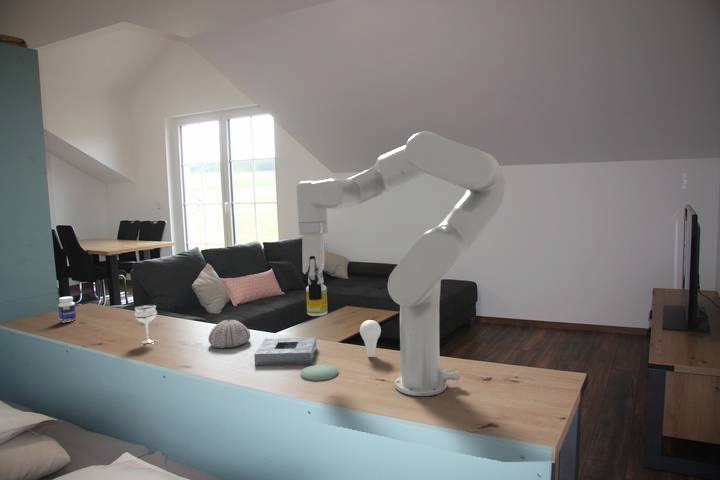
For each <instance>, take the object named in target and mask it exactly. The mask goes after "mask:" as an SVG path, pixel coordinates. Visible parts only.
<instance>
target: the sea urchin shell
mask: <svg viewBox="0 0 720 480" xmlns="http://www.w3.org/2000/svg"><path fill="white" fill-rule="evenodd" d="M250 339H251V332H250V329H249V328H248V327H247V326H245V324H243V322H241V321H239V320H237V319H224V320H222V321H220V322H218V323H217V324H216V325H215V326H214V327H213V328H211V331H210V332H209V335H208V339H207V340H208V343H209V345H211V347H214V348H218V349H220V348H221V349H225V348H228V349H229V348H232V347H233V348H234V347H235V348H236V347H238V346H242V345H245V343H248V342H249V341H250Z"/></svg>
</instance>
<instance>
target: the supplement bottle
mask: <svg viewBox="0 0 720 480" xmlns="http://www.w3.org/2000/svg"><path fill="white" fill-rule="evenodd" d="M307 282H308V283H309V277H308V278H307ZM323 283H324V276H323V277H320V284H321V293H322V299H321V300H310V299H309V287H308V285H307V286H306V287H305V292H306V293H305V295H306V314H307V315H308V316H312V317H317V316H319V317H320V316H324V315H327V314H328V295H327V294H328V293H327V292H328V291H327V289H328V288H327V286H326V285H325V284H324V285H323Z"/></svg>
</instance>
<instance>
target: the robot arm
mask: <svg viewBox="0 0 720 480" xmlns="http://www.w3.org/2000/svg"><path fill="white" fill-rule="evenodd" d="M426 176H431V177H434V178H436V179H439V180H441V181H445V182H447V183H449V184H452V185H454V186H457V187H460V188H462V189H466V190H465V194H464V195H463V196H462V198H460V200H459V201H457V203H456V204H455V206H453V208H452V209H451V211H450V212H449V213H448V214H447V216H446V217H445V218H444V219H443V220H442V222H441V223H439V224H438V225H437V226H436V227H433V228H431V229H428V230H427V231H424V233H423V234H422V235H421V236H420V237H419V238H418V239H417V240H416V241H415V243H414V244H413V245H412V246H411V248H410V249H409V250H408V251H407V252H406V254H404V256H403V257H402V259H401V260H400V261H399V262H398V264H397V265H396V266H395V267H394V268H393V270H392V271H391V273H390V274H389V276H388V281H387V291H388V294H389V296H390V298H391V299H392V300H393V302H395V304H397V305H399V342H400V343H399V351H400V353H399V354H400V375H399V376H397V377H396V379H394V387H395V389H396V390H397V391H399V392H400V393H402V394H406V395H409V396H415V397H429V396H434V395H439V394H440V393H442V392H444V391H445V390H446V388H447V381H459V380H461V378H460V371H454V370H453V369H443V368H442V367H441V365H440V364H441V363H440V362H441V361H440V301H441V299H440V298H441V286H442V285H441V284H442V283H441V281H442V280H443V279H444V278H445V276H446V275H447V274H448V273H449V272H450V271H451V270H452V268H453V267H454V266H455V265H457V263H459V262H460V261H461V260H462V259H463V257H464V256H465V254H466V252H467V251H468V250H469V249H470V247H471V246H472V245H473V244H474V243H475V242H476V241H477V239H478V238H479V237H480V235H481V234H483V231H484V230H485V229H486V228H487V227H488V225H489V224H490V223H491V222H492V220H493V219H494V218H495V217H496V216H497V213H498V212H499V211H500V208H501V206H502V204H503V202H504V198H505V192H506V180H505V175H504V173H503V170H502V168H501V166H500V163H499V162H498V161H497V159H496V158H495V157H494V156H492V155H491V154H489V153H487V152H486V151H482V150H480V149H478V148H475V147H472V146H469V145H466V144H463V143H461V142H458V141H456V140H455V141H454V140H451V139H449V138H446V137H444V136H441V135H439V134H437V133H434V132H431V131H426V130H424V131H419V132H417V133H414V134H413V135H412V136H410V138H408V140H407V141H406V144H405V145H402V146H400V147H397V148H395V149H393V150H391V151H388V152H386V153H385V154H382V155H380V156H378V158H377V159H376V161H375V164H374V165H372V166H371V167H370V168H368V169H366V170H364V171H363V172H360V173H358V174H356V175H354V176H351V177H348V178H328V179H323V180H307V181H306V180H305V181H299V182H298V183H297V185H296V205H297V208H296V209H297V219H298V222H297V223H298V225H297V226H298V235H299V236H302V237H301V238H302V239H301V240H302V242H301V243H302V244H301V246H302V247H301V251H302V253H301V254H302V260H301V261H302V273H303V274H305V275H306V274H307V273H308V278H309V282H308V285H307V286H308V287H309V299H310V300H321V299H322V293H321V284H320V277H323V278H324V275H323V270H324V269H325V238H324V237H325V236H324V235H327V234H329V233H328V230H329V229H328V211H327V210H328V209H331V210H334V209H335V210H337V209H344V208H353V207H356V206H358V205H361V204H363V203H365V202H369V201H370V200H372V199H376V198H378V197H379V196H381V195H383V194H385V193H389V192H391V191H392V190H394V189H396V188H399V187H401V186H404V185H406V184H408V183H411V182H413V181H416V180H417V179H420V178H423V177H426ZM323 285H325V284H324V282H323Z"/></svg>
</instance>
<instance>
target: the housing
mask: <svg viewBox="0 0 720 480" xmlns="http://www.w3.org/2000/svg"><path fill="white" fill-rule="evenodd" d="M316 351H317V337H292V338H291V337H290V338H288V337H287V338H286V337H285V338H282V337H281V338H264V339H263V341H262V342H261V343H260V345H259V347H258V348H257V349H256V351H255V352H254V353H253V354H254V355H253V356H254V366H255V367H256V366H257V367H266V366H267V367H268V366H272V367H273V366H304V365H305V366H309V365H310V366H312V363H313V360H314V357H315V354H316Z"/></svg>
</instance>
